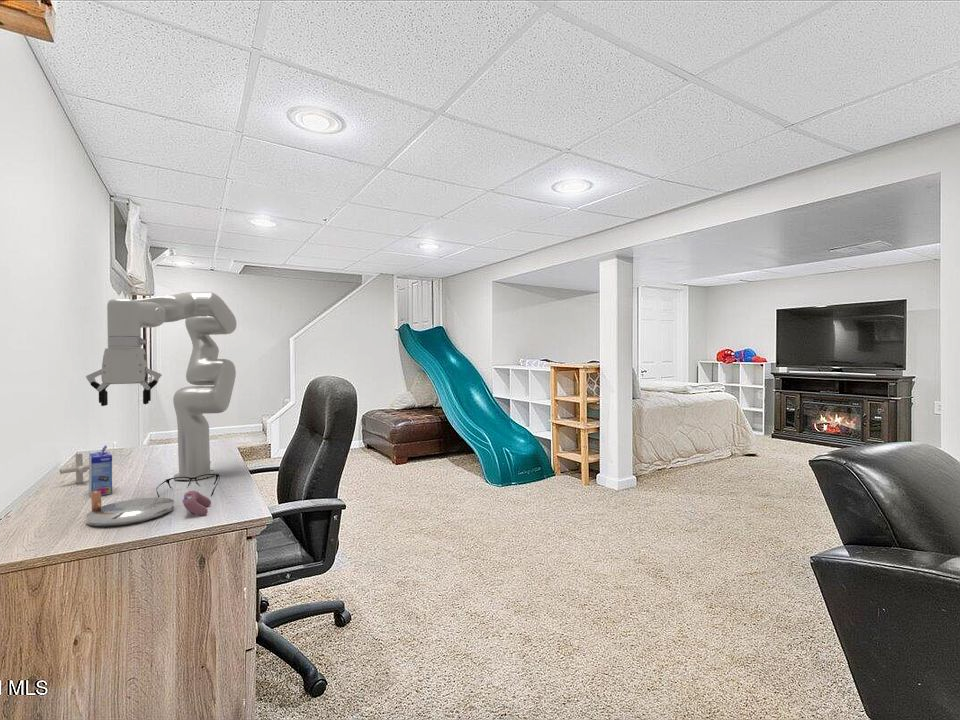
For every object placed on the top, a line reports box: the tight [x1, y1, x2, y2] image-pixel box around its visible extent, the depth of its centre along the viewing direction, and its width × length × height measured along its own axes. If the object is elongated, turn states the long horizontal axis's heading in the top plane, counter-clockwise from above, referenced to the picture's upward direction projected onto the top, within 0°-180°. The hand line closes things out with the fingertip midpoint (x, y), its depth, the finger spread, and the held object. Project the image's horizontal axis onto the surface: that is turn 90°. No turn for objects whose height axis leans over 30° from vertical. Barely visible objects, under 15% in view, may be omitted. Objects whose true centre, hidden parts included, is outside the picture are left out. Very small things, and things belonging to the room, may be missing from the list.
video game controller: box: [182, 489, 212, 517], centre depth 132 cm, size 10×5×7 cm, turn 23°
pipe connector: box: [59, 452, 89, 484], centre depth 165 cm, size 10×10×10 cm
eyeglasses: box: [156, 473, 221, 497], centre depth 151 cm, size 16×16×4 cm
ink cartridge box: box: [88, 444, 113, 496], centre depth 153 cm, size 10×6×14 cm, turn 42°
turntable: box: [85, 490, 175, 527], centre depth 130 cm, size 19×19×6 cm
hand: (125, 404), depth 136 cm, fingers open, 9 cm apart
